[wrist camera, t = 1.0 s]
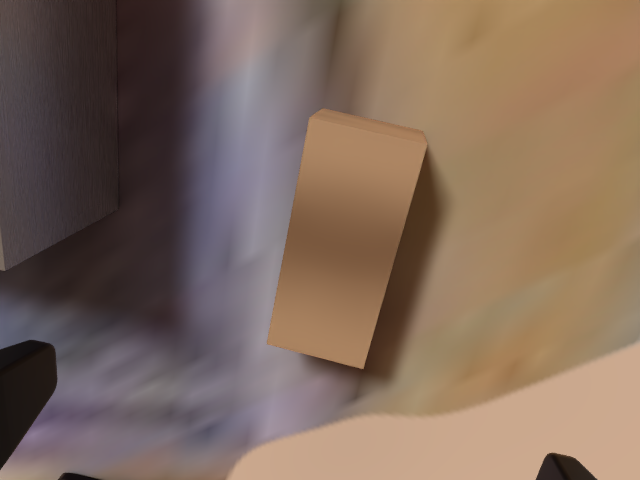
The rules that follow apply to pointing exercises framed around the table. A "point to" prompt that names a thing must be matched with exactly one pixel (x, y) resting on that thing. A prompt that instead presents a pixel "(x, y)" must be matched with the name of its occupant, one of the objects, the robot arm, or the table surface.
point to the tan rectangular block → (344, 234)
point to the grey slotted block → (56, 121)
